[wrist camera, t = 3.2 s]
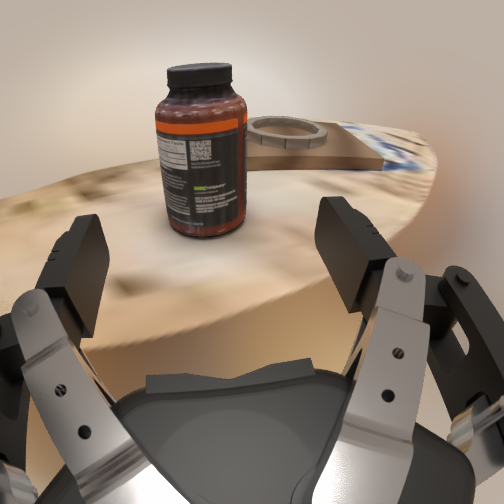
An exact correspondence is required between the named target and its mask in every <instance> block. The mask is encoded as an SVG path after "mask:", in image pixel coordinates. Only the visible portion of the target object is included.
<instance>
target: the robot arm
mask: <svg viewBox="0 0 504 504" xmlns="http://www.w3.org/2000/svg"><path fill="white" fill-rule="evenodd" d="M315 244H316V248H317V250H318V252H319V254H320V256H321V258H322V260H323V262H324V264H325V265H326V267H327V269H328V271H329V273H330V275H331V277H332V280H333V281H334V284H335V286H336V288H337V290H338V292H339V294H340V296H341V298H342V300H343V302H344V304H345V306H346V308H347V311H348V313H355V312H360V311H361V312H362V314H363V318H362V320H361V322H360V325H359V328H358V331H357V334H356V337H355V340H354V343H353V346H352V349H351V352H350V355H349V358H348V360H347V363H346V365H345V368H344V370H343V372H342V374H338V373H336V372H332V371H328V370H322V369H314V368H313V364H312V361H311V358H306V359H300V360H294V361H288V362H282V363H276V364H270V365H268V366H265V367H263V368H260V369H258V370H255V371H253V372H250V373H247V374H244V375H242V376H239V377H236V378H233V379H222V378H214V377H207V376H200V375H193V374H187V373H184V374H167V375H146V387H143V388H140V389H138V390H136V391H133V392H131V393H129V394H127V395H126V396H124V397H123V398H121V399H120V400H118V401H116V400H115V398H114V397H113V396H112V395H111V393H110V392H109V391H108V389H107V388H106V386H105V385H104V384H103V382H102V380H101V379H100V377H99V376H98V374H97V373H96V371H95V370H94V368H93V367H92V365H91V363H90V362H89V360H88V358H87V357H86V355H85V353H84V352H83V350H82V349H81V347H80V342H81V338H93V334H94V329H95V324H96V319H97V314H98V309H99V305H100V300H101V296H102V292H103V287H104V283H105V279H106V275H107V271H108V268H109V261H110V258H109V250H108V246H107V243H106V240H105V237H104V233H103V230H102V227H101V223H100V220H99V217H98V215H97V214H91V215H83V216H77V217H76V218H75V220H74V222H73V224H72V226H71V228H70V230H69V231H66V232H65V233H64V234H63V235H62V236H61V237H60V238H59V239H58V240H57V241H56V243H55V245H54V247H53V249H52V251H51V252H52V253H50V255H49V257H48V259H47V260H48V261H47V262H46V263H45V266H44V268H43V270H42V272H41V275H40V277H39V279H38V281H37V284H36V286H35V289H33V290H29V291H27V292H25V293H24V294H22V295H21V296H20V297H19V298H18V299H17V300H16V302H15V303H14V305H13V307H12V311H11V313H8V314H5V315H3V316H0V504H473V500H474V494H475V488H476V486H478V485H479V484H481V483H482V482H484V481H485V480H487V479H488V478H489V477H491V476H492V475H493V474H495V473H496V472H498V471H499V470H500V469H502V468H503V467H504V321H503V319H502V318H501V316H500V315H499V313H498V311H497V310H496V308H495V307H494V305H493V304H492V302H491V301H490V299H489V298H488V296H487V295H486V293H485V292H484V290H483V289H482V287H481V286H480V285H479V283H478V282H477V280H476V279H475V278H474V276H473V275H472V274H471V273H470V272H468V271H467V270H466V269H464V268H462V267H458V266H449V267H447V268H446V270H445V272H444V274H443V276H442V277H437V276H430V275H425V273H424V271H423V270H422V269H421V267H420V266H419V265H417V264H416V263H415V262H413V261H411V260H409V259H407V258H403V257H397V256H396V254H395V253H394V252H393V250H392V249H391V248H390V246H389V245H388V243H387V242H386V241H385V239H384V238H383V237H382V236H381V234H379V232H378V230H377V229H376V228H375V227H373V224H372V223H371V221H370V220H369V219H368V218H367V216H365V215H364V214H362V213H361V212H359V211H358V210H356V209H353V208H352V207H351V206H350V204H349V203H348V202H347V201H346V199H345V198H344V197H342V196H337V197H322V199H321V201H320V205H319V211H318V217H317V222H316V228H315ZM457 321H458V322H459V324H460V325H461V327H462V329H463V331H464V333H465V334H466V336H467V338H468V340H469V351H468V354H467V355H465V353H464V351H463V349H462V348H461V346H460V344H459V342H458V340H457V338H456V336H455V335H454V332H453V331H452V328H453V327H454V325H455V324H456V323H457ZM426 361H427V363H428V365H429V367H430V369H431V371H432V374H433V376H434V378H435V381H436V383H437V385H438V388H439V390H440V393H441V395H442V398H443V400H444V403H445V405H446V408H447V410H448V413H449V416H450V418H451V421H452V425H451V433H450V434H449V435H448V436H447V441H445V440H444V439H442V438H440V437H439V436H437V435H436V434H434V433H432V432H431V431H429V430H428V429H426V428H424V427H423V426H421V425H420V424H418V423H416V422H415V421H416V417H417V412H418V408H419V403H420V397H421V392H422V387H423V381H424V375H425V368H426ZM30 394H31V396H32V398H33V401H34V403H35V405H36V408H37V410H38V412H39V414H40V416H41V418H42V420H43V422H44V424H45V426H46V429H47V430H48V433H49V434H50V436H51V438H52V440H53V442H54V444H55V446H56V447H57V449H58V451H59V453H60V455H61V456H62V458H63V459H64V461H65V465H64V466H63V467H62V469H61V470H60V471H59V472H58V473H57V475H56V476H55V477H54V478H53V480H52V481H51V482H50V483H49V485H48V486H47V487H46V489H45V490H44V491H43V492H42V494H41V495H40V496H39V497H38V492H37V490H36V488H35V487H34V486H33V485H32V484H31V482H30V479H29V478H28V476H27V475H26V472H25V471H26V469H25V467H26V434H27V421H28V410H29V401H30ZM37 498H38V499H37Z"/></svg>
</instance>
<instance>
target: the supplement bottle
mask: <svg viewBox="0 0 504 504" xmlns="http://www.w3.org/2000/svg"><path fill="white" fill-rule="evenodd" d="M167 79H168V84H167V86H168V87H169V89H170V91H169V94H168V96H167V97H166V99H164V100H163V101H161V102H160V103H159V105H158V106H157V108H156V112H155V121H156V134H157V142H158V151H159V159H160V166H161V174H162V181H163V188H164V195H165V202H166V208H167V213H168V218H169V221H170V223H171V225H172V226H173V227H174V228H175V229H177V230H178V231H180V232H182V233H185V234H187V235H192V236H200V237H201V236H213V235H219V234H223V233H225V232H228V231H230V230H232V229H233V228H235V227H236V226H237V225H239V224H240V223H241V222H242V220H243V219H244V217H245V214H246V203H247V201H246V195H247V194H246V193H247V191H246V189H247V182H246V181H247V106H246V103H245V101H244V99H243V98H242V97H241V96H239V95H237V94H236V93H235V92H234V90H233V88H232V87H231V85H230V84H231V82H232V81H233V80H232V65H231V64H229V63H197V64H188V65H181V66H175V67H171V68H168V69H167Z"/></svg>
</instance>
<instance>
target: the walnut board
mask: <svg viewBox="0 0 504 504" xmlns="http://www.w3.org/2000/svg"><path fill="white" fill-rule="evenodd" d="M383 162H384V158H383V157H381V156H380V155H379V154H377V153H376V152H375V151H374V150H372V149H371V148H370V147H368V146H367V145H366V144H364V143H363V142H362V141H360V140H359V139H358V138H356V137H355V136H353V135H352V134H351V133H349V132H348V131H346V130H345V129H344V128H342V127H341V126H339V125H338V124H336V123H325V122H311V121H308V120H304V119H300V118H293V117H285V116H263V117H257V118H251V119H249V120H247V171H249V170H277V169H356V170H382V166H383Z"/></svg>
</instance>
